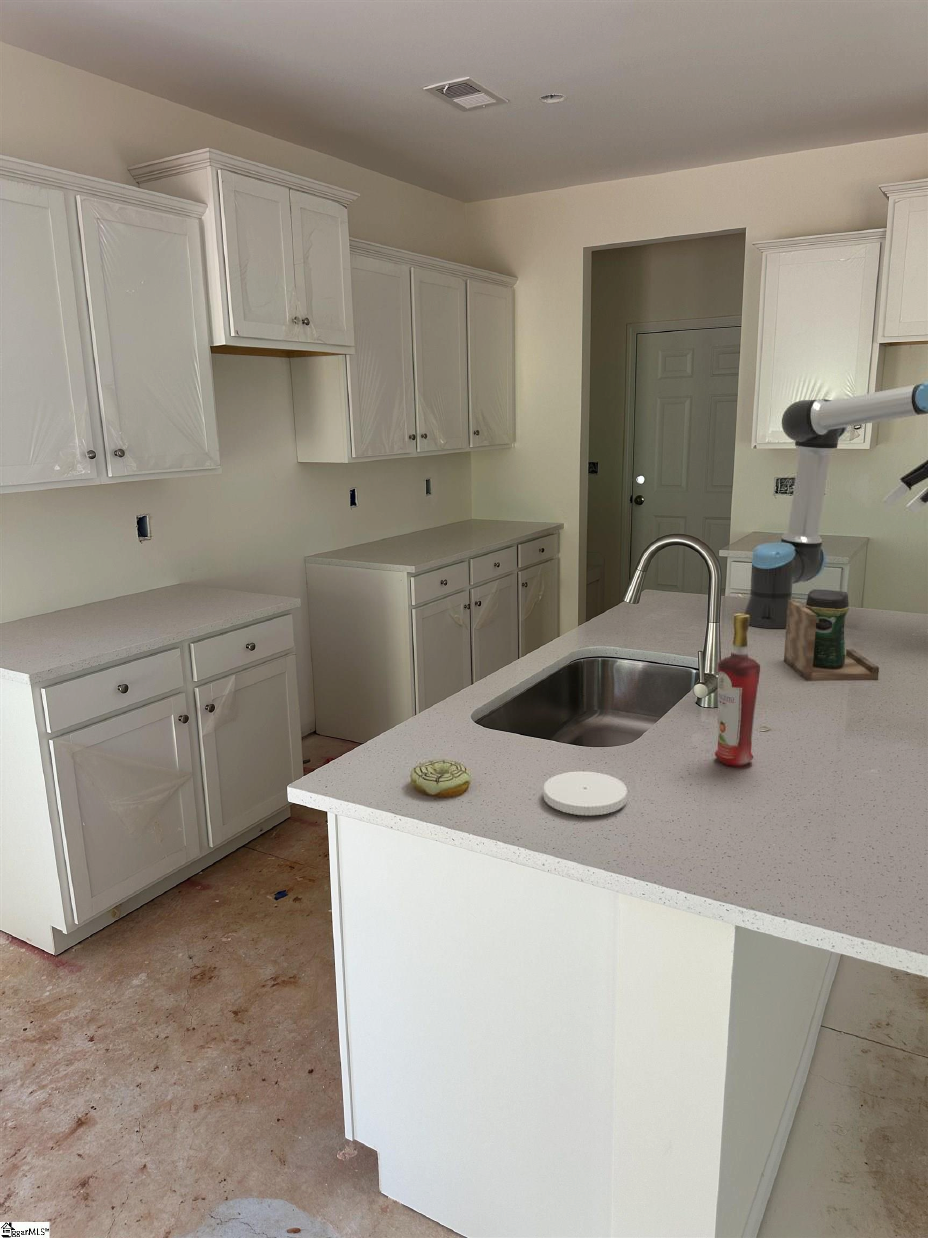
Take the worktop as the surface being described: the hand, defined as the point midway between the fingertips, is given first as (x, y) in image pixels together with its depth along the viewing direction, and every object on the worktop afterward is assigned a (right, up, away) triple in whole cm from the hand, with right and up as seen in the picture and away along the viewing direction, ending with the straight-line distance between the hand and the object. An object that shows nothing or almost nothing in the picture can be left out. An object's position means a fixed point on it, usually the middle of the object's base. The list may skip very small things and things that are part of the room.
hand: (897, 506), depth 223 cm
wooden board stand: (-21, -41, -8) cm, 47 cm away
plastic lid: (-90, -60, -75) cm, 132 cm away
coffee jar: (-22, -40, -8) cm, 46 cm away
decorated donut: (-115, -59, -68) cm, 146 cm away
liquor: (-61, -55, -61) cm, 102 cm away
